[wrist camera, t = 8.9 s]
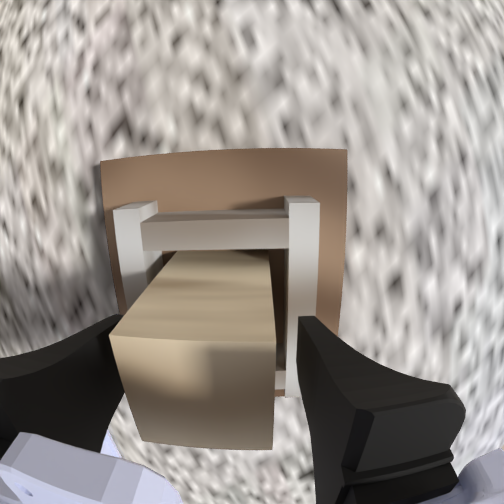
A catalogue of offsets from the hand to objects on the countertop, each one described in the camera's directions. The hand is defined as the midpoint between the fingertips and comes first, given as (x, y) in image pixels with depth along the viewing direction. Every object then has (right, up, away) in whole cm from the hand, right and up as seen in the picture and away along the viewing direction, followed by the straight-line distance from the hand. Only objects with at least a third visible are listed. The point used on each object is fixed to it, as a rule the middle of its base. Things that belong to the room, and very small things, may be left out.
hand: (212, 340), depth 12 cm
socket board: (0, +2, +5) cm, 5 cm away
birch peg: (0, +1, +4) cm, 4 cm away
